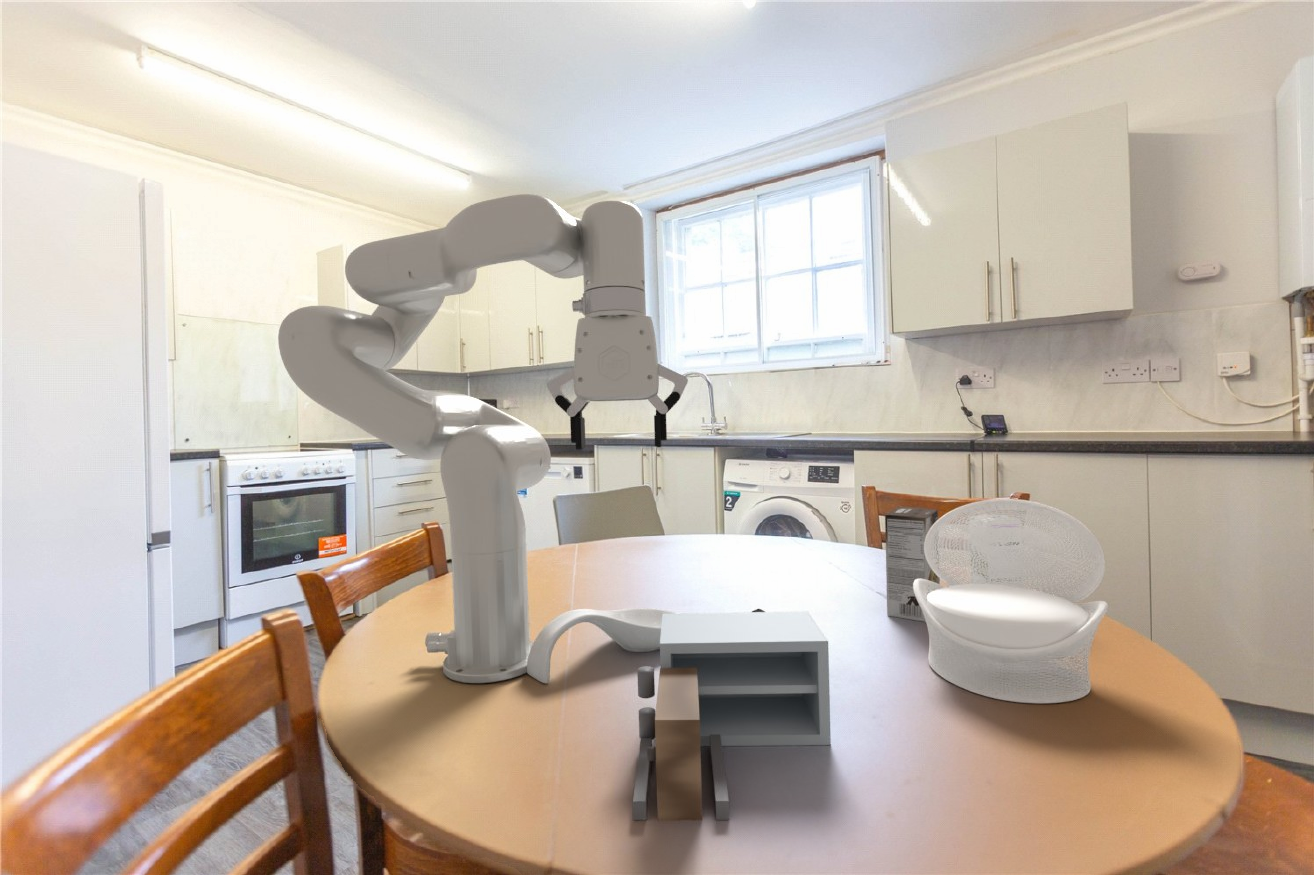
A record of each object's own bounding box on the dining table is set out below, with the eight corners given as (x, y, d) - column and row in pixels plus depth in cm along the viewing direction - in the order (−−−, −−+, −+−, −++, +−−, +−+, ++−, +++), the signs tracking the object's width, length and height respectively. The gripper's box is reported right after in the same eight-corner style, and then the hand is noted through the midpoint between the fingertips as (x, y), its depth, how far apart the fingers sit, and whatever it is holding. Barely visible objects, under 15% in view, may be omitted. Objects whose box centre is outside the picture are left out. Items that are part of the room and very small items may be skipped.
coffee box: (900, 601, 101) (898, 506, 101) (941, 607, 97) (939, 508, 97) (885, 616, 94) (883, 513, 93) (929, 623, 90) (927, 516, 89)
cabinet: (630, 820, 47) (626, 694, 47) (645, 703, 67) (642, 614, 66) (865, 819, 46) (862, 691, 46) (810, 701, 66) (808, 611, 66)
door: (648, 820, 47) (645, 720, 47) (654, 751, 57) (652, 668, 57) (702, 820, 47) (699, 719, 47) (699, 751, 57) (696, 667, 57)
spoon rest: (649, 625, 93) (648, 579, 93) (704, 643, 85) (702, 593, 85) (512, 669, 78) (510, 614, 78) (562, 698, 69) (560, 636, 69)
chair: (896, 682, 70) (892, 512, 70) (935, 632, 86) (932, 493, 85) (1109, 730, 58) (1106, 525, 58) (1109, 662, 74) (1107, 501, 73)
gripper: (538, 305, 70) (542, 451, 70) (685, 299, 69) (690, 447, 69) (551, 316, 77) (556, 448, 78) (685, 311, 77) (689, 445, 77)
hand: (619, 447), depth 74 cm, fingers open, 9 cm apart
